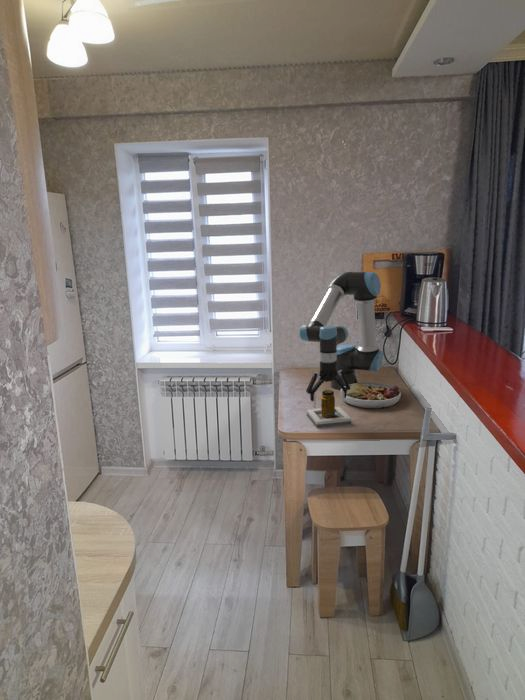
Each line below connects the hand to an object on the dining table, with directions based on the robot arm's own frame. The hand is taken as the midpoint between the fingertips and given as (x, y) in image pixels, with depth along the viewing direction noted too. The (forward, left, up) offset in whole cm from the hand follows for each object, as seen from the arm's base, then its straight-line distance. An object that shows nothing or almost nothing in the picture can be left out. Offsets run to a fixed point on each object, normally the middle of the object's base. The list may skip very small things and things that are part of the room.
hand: (328, 406), depth 214 cm
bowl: (-20, +29, -7) cm, 36 cm away
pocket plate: (0, 0, -7) cm, 7 cm away
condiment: (0, +1, -5) cm, 5 cm away
